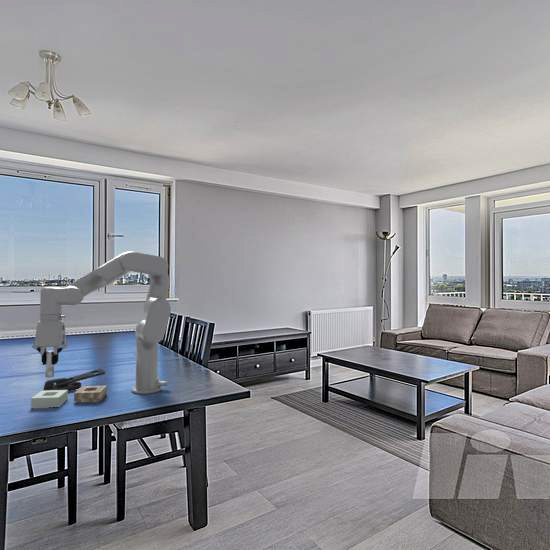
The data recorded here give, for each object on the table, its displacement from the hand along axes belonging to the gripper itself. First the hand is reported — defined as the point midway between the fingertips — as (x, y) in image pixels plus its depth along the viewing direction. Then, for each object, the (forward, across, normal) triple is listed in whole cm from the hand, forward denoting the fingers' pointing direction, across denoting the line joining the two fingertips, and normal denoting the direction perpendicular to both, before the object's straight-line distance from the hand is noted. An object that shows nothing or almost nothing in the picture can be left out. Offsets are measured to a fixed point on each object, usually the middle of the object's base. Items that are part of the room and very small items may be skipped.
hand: (49, 363), depth 162 cm
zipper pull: (+16, -3, -22) cm, 27 cm away
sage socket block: (+16, 0, 0) cm, 16 cm away
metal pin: (+5, 0, 0) cm, 5 cm away
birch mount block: (+16, -14, -5) cm, 22 cm away
